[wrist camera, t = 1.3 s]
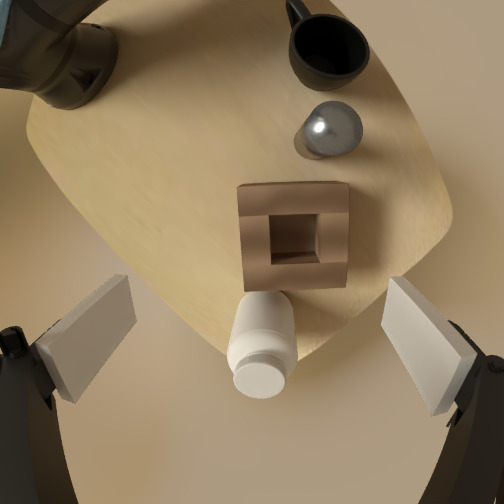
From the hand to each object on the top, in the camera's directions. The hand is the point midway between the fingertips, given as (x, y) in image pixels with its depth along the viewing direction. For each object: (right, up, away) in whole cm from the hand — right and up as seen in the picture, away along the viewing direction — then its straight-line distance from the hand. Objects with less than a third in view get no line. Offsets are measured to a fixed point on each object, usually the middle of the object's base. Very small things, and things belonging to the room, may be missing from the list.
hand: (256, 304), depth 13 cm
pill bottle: (+2, -6, +27) cm, 28 cm away
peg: (+7, +16, +20) cm, 26 cm away
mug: (+7, +27, +16) cm, 33 cm away
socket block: (+5, +6, +23) cm, 24 cm away
